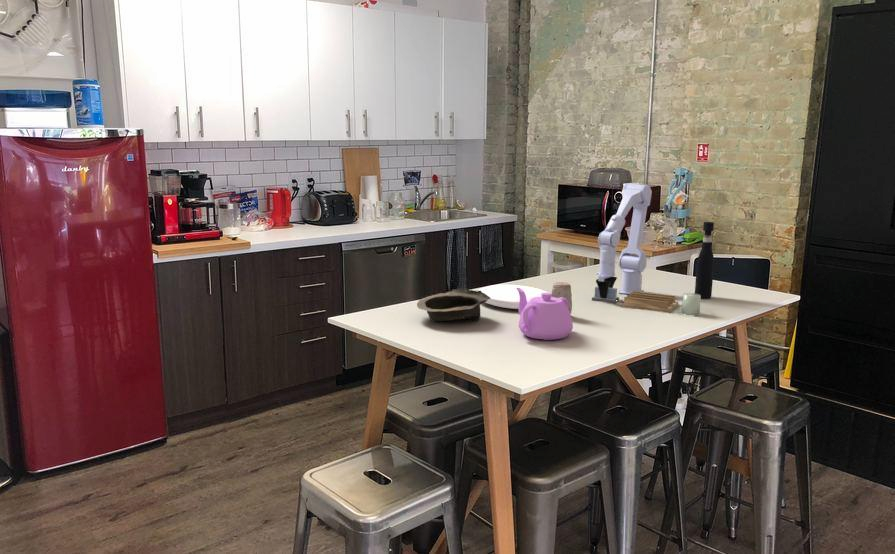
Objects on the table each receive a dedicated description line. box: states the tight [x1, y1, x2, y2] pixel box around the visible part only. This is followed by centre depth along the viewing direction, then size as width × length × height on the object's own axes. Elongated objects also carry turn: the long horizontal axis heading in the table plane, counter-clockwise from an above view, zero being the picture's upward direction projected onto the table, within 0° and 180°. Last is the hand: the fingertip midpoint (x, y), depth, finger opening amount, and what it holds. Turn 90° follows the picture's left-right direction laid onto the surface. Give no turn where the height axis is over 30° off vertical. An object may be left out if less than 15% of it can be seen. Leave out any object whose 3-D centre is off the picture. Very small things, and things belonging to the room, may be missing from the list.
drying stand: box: [591, 296, 620, 304], centre depth 281 cm, size 6×9×1 cm
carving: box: [551, 281, 573, 315], centre depth 254 cm, size 6×8×12 cm
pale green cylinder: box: [681, 292, 702, 316], centre depth 260 cm, size 6×6×7 cm
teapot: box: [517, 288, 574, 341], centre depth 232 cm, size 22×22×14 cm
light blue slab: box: [594, 285, 618, 300], centre depth 280 cm, size 2×8×5 cm, turn 61°
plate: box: [477, 284, 549, 310], centre depth 273 cm, size 28×6×27 cm
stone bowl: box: [416, 288, 490, 322], centre depth 249 cm, size 25×25×9 cm
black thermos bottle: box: [694, 221, 715, 300], centre depth 284 cm, size 6×6×30 cm
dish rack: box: [619, 291, 679, 313], centre depth 272 cm, size 15×18×4 cm
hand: (605, 296), depth 281 cm, fingers open, 5 cm apart
